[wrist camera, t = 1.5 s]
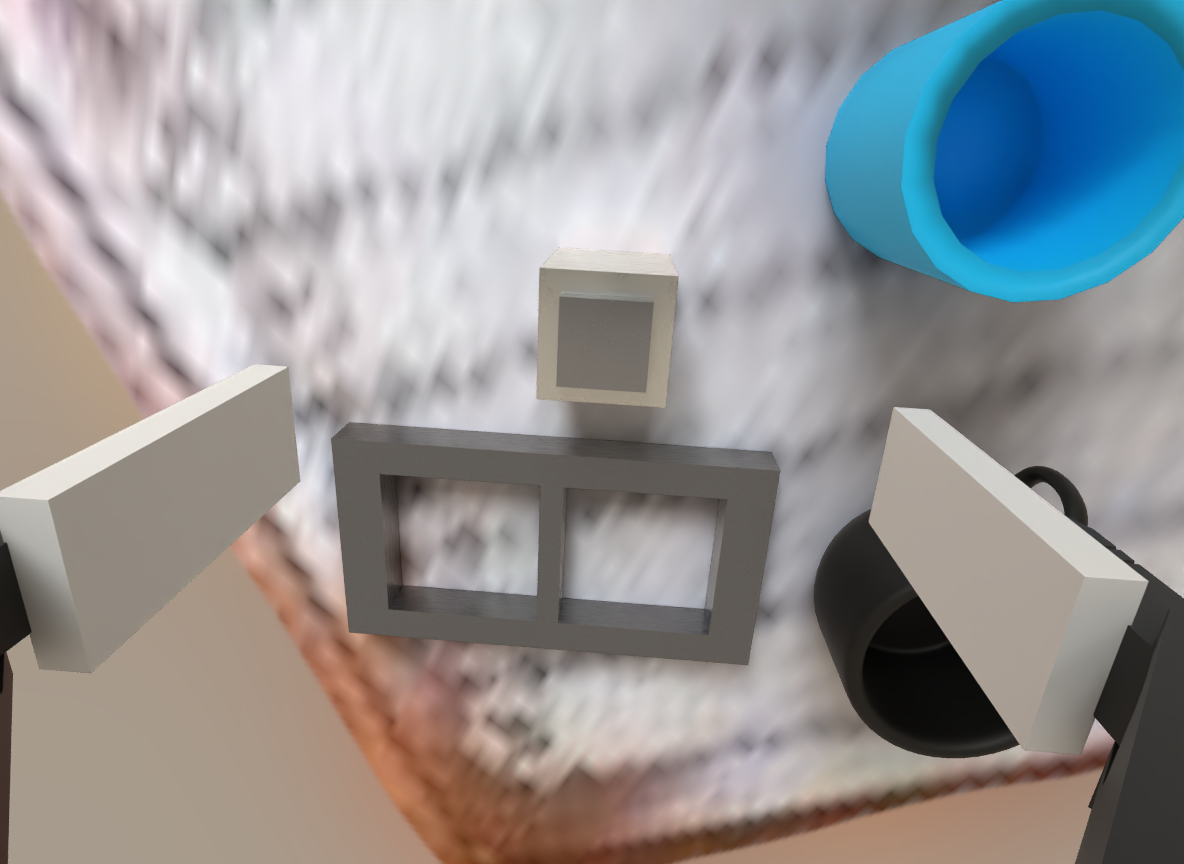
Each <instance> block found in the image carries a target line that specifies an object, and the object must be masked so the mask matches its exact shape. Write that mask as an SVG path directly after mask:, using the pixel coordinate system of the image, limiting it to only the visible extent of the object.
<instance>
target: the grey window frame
mask: <svg viewBox="0 0 1184 864" xmlns="http://www.w3.org/2000/svg"><path fill="white" fill-rule="evenodd" d="M331 442H332V453H333V464H334V474H335V485H336V496H337V507H338V518H339V529H340V540H341V551H342V562H343V573H344V583H345V594H346V605H347V616H348V627H349V632H350V633H363V634H375V635H387V636H399V637H411V638H424V639H436V640H448V641H460V642H473V643H485V644H497V645H509V646H521V647H534V648H546V649H558V650H570V651H583V652H595V653H607V654H619V655H631V656H644V657H656V658H668V659H680V660H693V661H705V662H717V663H729V664H741V665H748V662H749V656H750V650H751V644H752V638H753V632H754V626H755V620H756V614H757V608H758V602H759V596H760V590H761V584H762V578H763V572H764V566H765V559H766V553H767V547H768V541H769V535H770V529H771V523H772V517H773V511H774V505H775V499H776V493H777V487H778V481H779V475H780V469H779V467H778V465H777V463H776V461H775V459H774V457H773V454H772V452H762V451H748V450H734V449H720V448H706V447H691V446H677V445H663V444H649V443H635V442H620V441H606V440H592V439H578V438H564V437H549V436H535V435H521V434H507V433H493V432H478V431H464V430H450V429H436V428H422V427H407V426H393V425H379V424H365V423H351V422H349V423H348V424H347V425H346V426H345V427H344V428H343V429H341V430H340V431H339V432H338V433H337V434H336V435H335V436H334V437H333V438H331ZM396 475H400V476H414V477H427V478H441V479H455V480H468V481H482V482H496V483H509V484H523V485H537V486H540V516H539V552H538V589H537V596H530V595H518V594H505V593H492V592H480V591H467V590H454V589H442V588H429V587H416V586H404V585H402V578H401V560H400V542H399V524H398V507H397V489H396ZM567 488H578V489H591V490H605V491H619V492H632V493H646V494H660V495H673V496H687V497H701V498H714V499H719V506H718V514H717V521H716V529H715V536H714V544H713V551H712V559H711V566H710V574H709V581H708V589H707V597H706V604H705V609H695V608H682V607H670V606H657V605H644V604H632V603H619V602H606V601H594V600H581V599H568V598H562V592H563V569H564V545H565V522H566V499H567Z"/></svg>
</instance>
